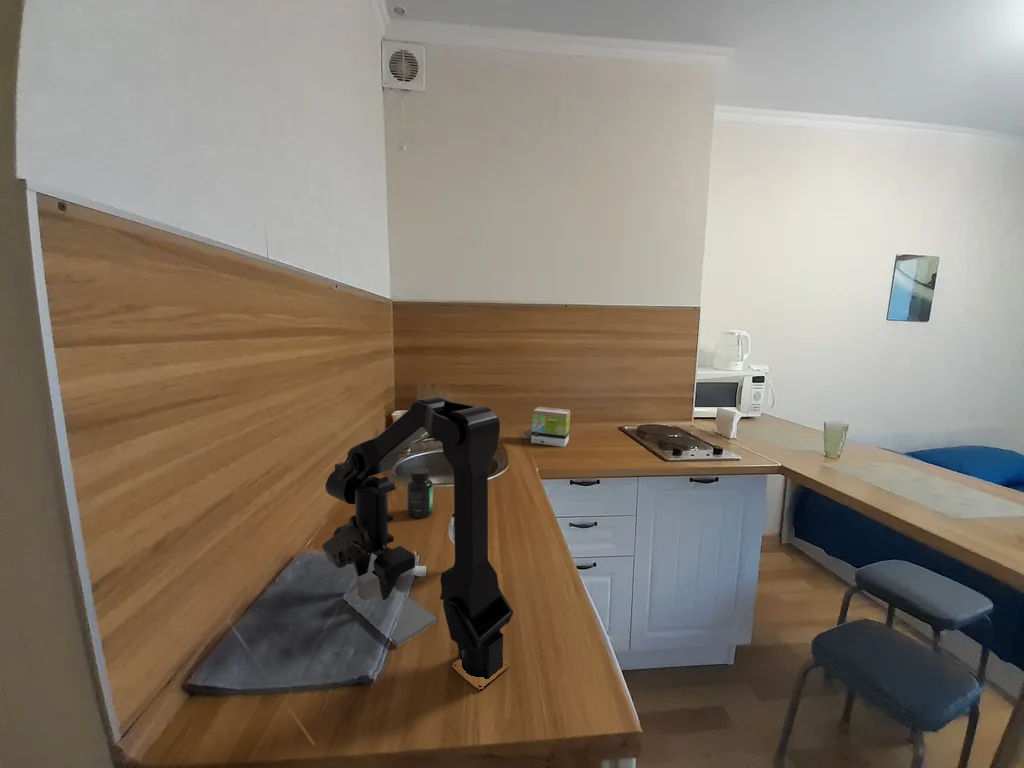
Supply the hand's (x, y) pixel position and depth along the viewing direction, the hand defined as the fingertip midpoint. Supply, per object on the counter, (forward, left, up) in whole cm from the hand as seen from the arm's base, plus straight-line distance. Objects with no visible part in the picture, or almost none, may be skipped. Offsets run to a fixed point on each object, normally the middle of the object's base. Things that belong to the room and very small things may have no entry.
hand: (373, 590), depth 82 cm
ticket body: (-9, 0, -2) cm, 9 cm away
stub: (0, 0, -2) cm, 2 cm away
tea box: (+42, -111, -2) cm, 119 cm away
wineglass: (-4, -18, -2) cm, 19 cm away
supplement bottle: (+24, -28, -2) cm, 37 cm away
